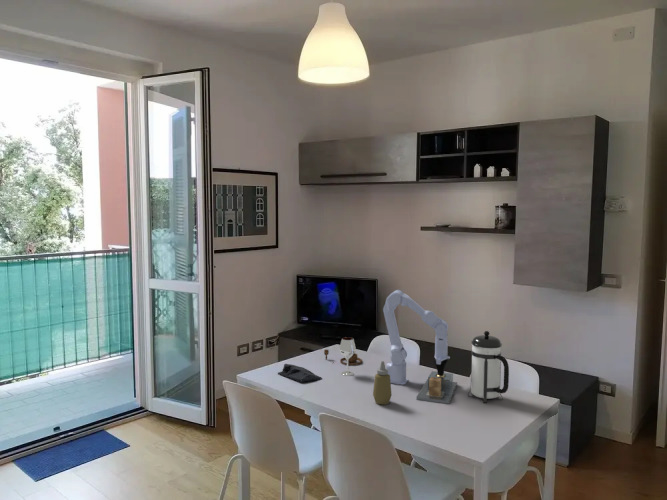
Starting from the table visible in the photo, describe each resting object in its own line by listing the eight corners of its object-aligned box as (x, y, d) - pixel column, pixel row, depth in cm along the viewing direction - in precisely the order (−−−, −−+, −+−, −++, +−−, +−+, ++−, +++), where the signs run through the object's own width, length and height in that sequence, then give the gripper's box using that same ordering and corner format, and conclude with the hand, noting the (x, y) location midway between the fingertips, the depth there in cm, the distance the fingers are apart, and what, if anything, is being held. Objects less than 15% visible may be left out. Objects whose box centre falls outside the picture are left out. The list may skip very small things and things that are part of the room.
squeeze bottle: (379, 407, 210) (379, 365, 208) (369, 400, 217) (369, 360, 216) (395, 404, 214) (395, 362, 212) (384, 397, 221) (385, 357, 219)
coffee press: (465, 402, 216) (467, 333, 214) (469, 390, 231) (471, 326, 229) (507, 407, 210) (509, 337, 208) (509, 395, 225) (511, 329, 223)
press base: (416, 399, 219) (416, 387, 218) (427, 381, 243) (427, 370, 243) (448, 404, 214) (449, 392, 213) (457, 384, 238) (457, 374, 238)
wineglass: (358, 372, 255) (358, 338, 254) (350, 377, 248) (350, 341, 247) (344, 370, 259) (344, 336, 258) (336, 374, 253) (336, 339, 251)
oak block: (428, 394, 222) (429, 380, 221) (430, 391, 226) (431, 376, 225) (439, 395, 220) (439, 381, 219) (440, 392, 224) (441, 378, 224)
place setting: (346, 369, 263) (346, 358, 263) (322, 360, 278) (322, 350, 278) (369, 362, 275) (369, 352, 274) (345, 355, 290) (345, 344, 289)
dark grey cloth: (298, 386, 237) (298, 376, 236) (275, 374, 254) (275, 364, 254) (324, 380, 245) (324, 370, 245) (301, 368, 263) (301, 359, 263)
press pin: (436, 382, 235) (436, 375, 234) (437, 380, 238) (437, 373, 238) (443, 383, 233) (443, 376, 233) (444, 381, 237) (445, 374, 236)
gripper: (447, 351, 226) (446, 381, 227) (452, 344, 240) (451, 371, 241) (431, 350, 229) (431, 379, 230) (437, 342, 242) (436, 370, 243)
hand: (440, 375), depth 235 cm, fingers closed, pressing on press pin
